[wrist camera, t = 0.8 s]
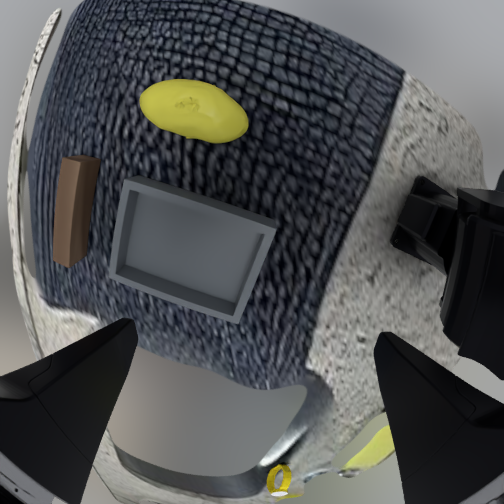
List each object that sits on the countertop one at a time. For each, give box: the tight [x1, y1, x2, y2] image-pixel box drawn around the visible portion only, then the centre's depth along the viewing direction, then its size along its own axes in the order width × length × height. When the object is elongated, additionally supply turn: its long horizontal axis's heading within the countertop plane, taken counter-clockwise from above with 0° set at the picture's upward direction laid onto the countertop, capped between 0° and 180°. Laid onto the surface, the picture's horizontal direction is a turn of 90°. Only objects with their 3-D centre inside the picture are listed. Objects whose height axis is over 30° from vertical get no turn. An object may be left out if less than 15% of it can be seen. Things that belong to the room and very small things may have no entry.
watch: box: [267, 464, 291, 496], centre depth 33 cm, size 6×3×6 cm, turn 154°
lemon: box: [140, 79, 249, 143], centre depth 16 cm, size 4×8×4 cm, turn 63°
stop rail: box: [53, 155, 101, 268], centre depth 19 cm, size 2×9×3 cm, turn 161°
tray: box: [109, 175, 277, 324], centre depth 20 cm, size 11×8×2 cm
